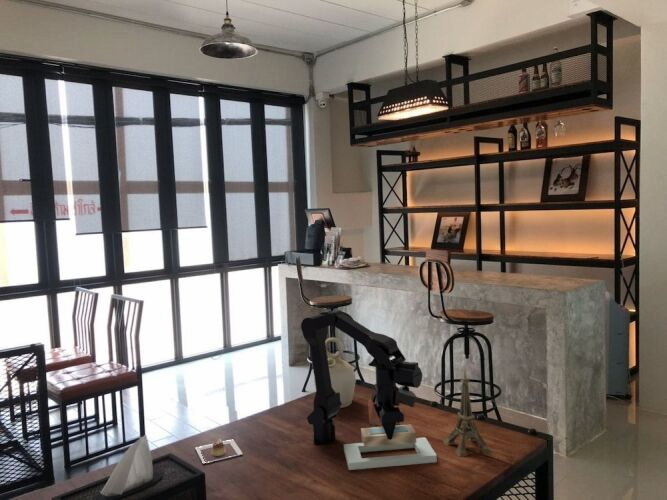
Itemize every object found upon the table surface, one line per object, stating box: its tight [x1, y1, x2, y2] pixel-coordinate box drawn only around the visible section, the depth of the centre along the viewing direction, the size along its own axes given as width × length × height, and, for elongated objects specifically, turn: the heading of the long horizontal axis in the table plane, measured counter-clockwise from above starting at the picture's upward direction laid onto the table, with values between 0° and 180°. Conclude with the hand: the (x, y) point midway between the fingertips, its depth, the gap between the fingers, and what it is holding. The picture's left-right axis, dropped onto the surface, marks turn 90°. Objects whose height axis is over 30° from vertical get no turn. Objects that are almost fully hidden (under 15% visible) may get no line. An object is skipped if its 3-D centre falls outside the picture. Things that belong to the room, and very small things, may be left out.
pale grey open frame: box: [343, 437, 438, 471], centre depth 157 cm, size 25×12×2 cm, turn 95°
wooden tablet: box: [367, 398, 400, 427], centre depth 192 cm, size 27×10×2 cm, turn 178°
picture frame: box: [360, 423, 417, 447], centre depth 157 cm, size 15×6×3 cm, turn 96°
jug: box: [313, 336, 357, 409], centre depth 201 cm, size 15×16×25 cm
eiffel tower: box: [442, 369, 493, 458], centre depth 160 cm, size 11×11×25 cm
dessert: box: [194, 438, 244, 464], centre depth 165 cm, size 12×12×5 cm
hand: (387, 434), depth 157 cm, fingers closed on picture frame, 6 cm apart
